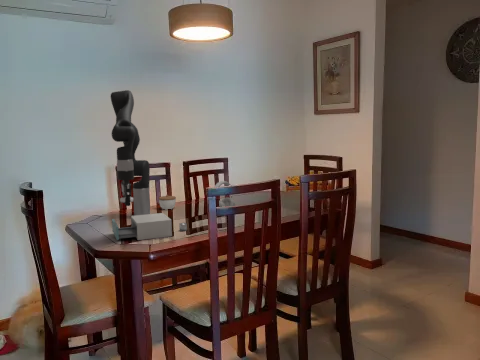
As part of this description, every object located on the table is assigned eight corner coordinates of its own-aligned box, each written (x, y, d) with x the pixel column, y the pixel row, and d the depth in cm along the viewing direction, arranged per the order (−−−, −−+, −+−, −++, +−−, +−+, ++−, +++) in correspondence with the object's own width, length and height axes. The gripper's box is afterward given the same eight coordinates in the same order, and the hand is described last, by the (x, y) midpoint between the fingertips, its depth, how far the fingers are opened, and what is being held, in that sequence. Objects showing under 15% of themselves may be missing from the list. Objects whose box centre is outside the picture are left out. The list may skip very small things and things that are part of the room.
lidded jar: (157, 208, 262) (156, 194, 261) (172, 206, 267) (172, 192, 266) (162, 211, 253) (161, 196, 252) (178, 209, 258) (177, 195, 257)
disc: (119, 200, 193) (119, 197, 193) (132, 199, 195) (132, 196, 195) (121, 202, 187) (120, 199, 187) (134, 201, 190) (134, 198, 189)
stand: (178, 229, 205) (178, 223, 204) (185, 229, 206) (185, 222, 206) (180, 231, 202) (180, 224, 201) (187, 230, 203) (187, 223, 202)
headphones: (219, 218, 231) (219, 183, 228) (207, 216, 236) (206, 182, 234) (238, 212, 246) (238, 180, 244) (226, 211, 251) (226, 179, 249)
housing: (131, 231, 203) (131, 215, 202) (163, 228, 209) (162, 212, 208) (137, 240, 186) (137, 223, 185) (171, 236, 193) (171, 219, 192)
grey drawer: (112, 231, 199) (111, 219, 198) (144, 227, 205) (143, 216, 204) (116, 239, 183) (116, 226, 182) (151, 235, 189) (150, 223, 188)
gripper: (115, 168, 194) (116, 202, 196) (119, 171, 181) (120, 207, 183) (131, 167, 197) (132, 201, 199) (136, 170, 184) (137, 206, 186)
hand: (127, 204), depth 191 cm, fingers closed on disc, 6 cm apart
